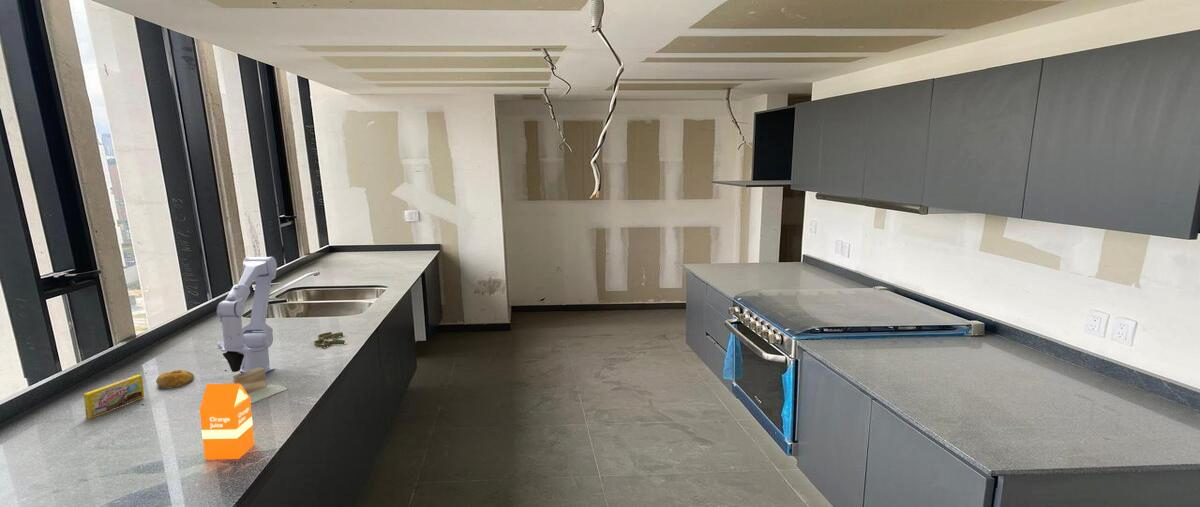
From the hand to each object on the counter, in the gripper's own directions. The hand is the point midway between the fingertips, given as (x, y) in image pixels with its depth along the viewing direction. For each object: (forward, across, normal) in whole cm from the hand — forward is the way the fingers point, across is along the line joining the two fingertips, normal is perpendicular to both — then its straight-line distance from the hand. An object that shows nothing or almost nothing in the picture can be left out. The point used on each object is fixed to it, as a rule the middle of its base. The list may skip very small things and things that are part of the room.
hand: (236, 371), depth 188 cm
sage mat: (+6, +13, 0) cm, 14 cm away
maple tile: (+6, +7, 0) cm, 9 cm away
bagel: (+6, -23, -7) cm, 25 cm away
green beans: (+6, -14, +49) cm, 52 cm away
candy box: (+6, -18, -27) cm, 33 cm away
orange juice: (+7, +41, -28) cm, 50 cm away
